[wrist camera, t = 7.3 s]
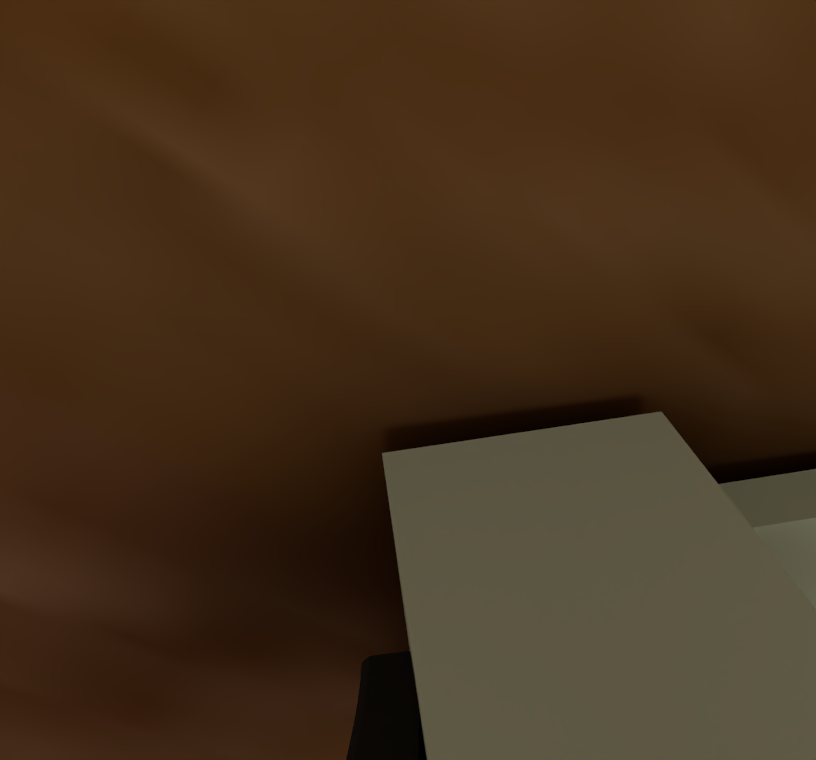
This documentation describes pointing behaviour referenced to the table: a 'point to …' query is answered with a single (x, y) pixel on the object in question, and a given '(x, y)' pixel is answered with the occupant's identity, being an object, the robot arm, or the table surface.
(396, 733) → the robot arm
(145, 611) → the table surface
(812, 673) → the square dumbbell
